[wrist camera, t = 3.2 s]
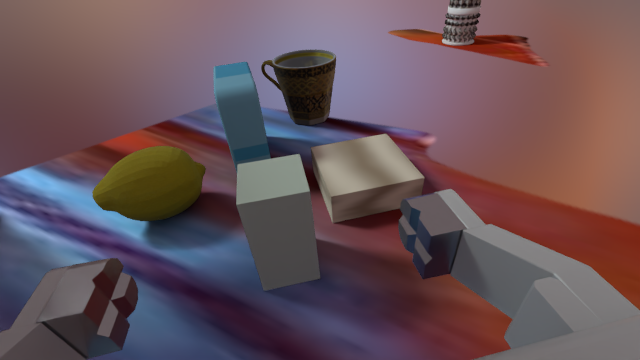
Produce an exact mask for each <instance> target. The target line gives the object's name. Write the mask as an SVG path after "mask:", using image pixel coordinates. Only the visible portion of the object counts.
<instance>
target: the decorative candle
mask: <svg viewBox="0 0 640 360" xmlns="http://www.w3.org/2000/svg"><path fill="white" fill-rule="evenodd" d="M480 4H481V0H450V5H449V7H448V13H447V14H446V18H448V19H447V20H446V21H445V24H446V26H445V27H444V29H443V30H444V33H443V35H442V36H443V38H444V39H442V43H444V44H448V45H469V44H472V43H474V39H473V38H474V37H475V36H476V34H475V31H477V27H476V26H475V25H476V24H477V23H478V22H479V21H478V20H477V18H478V17H479V16H480V14H479V11H480V7H481V6H480Z"/></svg>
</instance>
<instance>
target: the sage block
mask: <svg viewBox="0 0 640 360" xmlns="http://www.w3.org/2000/svg"><path fill="white" fill-rule="evenodd" d="M236 206H237V209H238V212H239V215H240V218H241V221H242V224H243V227H244V230H245V234H246V237H247V240H248V243H249V246H250V249H251V252H252V255H253V258H254V261H255V265H256V268H257V271H258V274H259V277H260V280H261V283H262V286H263V289H264V291H266V290H271V289H275V288H280V287H285V286H289V285H294V284H298V283H303V282H307V281H312V280H316V279H320V270H319V262H318V254H317V246H316V237H315V229H314V221H313V213H312V204H311V196H310V190H309V186H308V183H307V179H306V176H305V172H304V168H303V165H302V161H301V158H300V154H296V155H290V156H284V157H278V158H272V159H266V160H260V161H254V162H248V163H243V164H238V166H237V196H236Z"/></svg>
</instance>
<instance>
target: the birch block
mask: <svg viewBox="0 0 640 360" xmlns="http://www.w3.org/2000/svg"><path fill="white" fill-rule="evenodd" d="M311 154H312V163H313V172H314V174H315V177H316V180H317V182H318V185H319V188H320V190H321V193H322V196H323V198H324V201H325V204H326V206H327V209H328V212H329V214H330V217H331V220H332V222H333V223H335V222H340V221H344V220H349V219H354V218H358V217H363V216H367V215H372V214H376V213H381V212H386V211H390V210H395V209H399V208H400V205H401V201H402V200H403V199H406V198H411V197H416V196H420V195H422V190H423V184H424V178H425V177H424V176H423V175H422V174H421V173H420V172H419V171H418V169H417V168H416V167H415V166H414V165H413V164H412V163H411V161H410V160H409V159H408V158H407V157H406V156H405V155H404V153H403V152H402V151H401V150H400V149H399V148H398V147H397V145H396V144H395V143H394V142H393V141H392V140H391V139H390V137H389V136H388V135H387V134H382V135H376V136H371V137H365V138H360V139H354V140H348V141H343V142H337V143H332V144H326V145H321V146H315V147H311Z"/></svg>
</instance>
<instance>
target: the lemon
mask: <svg viewBox="0 0 640 360" xmlns="http://www.w3.org/2000/svg"><path fill="white" fill-rule="evenodd" d="M205 170H206V168H205V167H204V166H203V165H202V164H200V163H197V162H194V161H193V160H192V158H191V157H190V156H189V155H188V154H187V153H186V152H184V151H183V150H181V149H178V148H175V147H169V146H156V147H150V148H146V149H142V150H139V151H136V152H134V153H132V154H130V155H128V156H126V157H125V158H123V159H121V160H120V161H119V162H118V163H116V164H115V165H114V166H113V167H112V168H111V169H110V171H109V172H108V173H107V175H106V176H105V177H104V178H103V179H102V180H101V181H100V182H99V184H98V185H97V186H96V187H95V188H94V190H93V199H94V200H95V202H96V203H97V204H98V205H99V206H100V207H101V208H102V209H103V210H107V211H115V212H118V213H120V214H121V215H123V216H125V217H127V218H130V219H133V220H139V221H155V220H161V219H166V218H169V217H172V216H175V215H177V214H179V213H181V212H183V211H184V210H186V209H187V208H188V207H190V206H191V205H192V204H193V203H194V202H195V201H196V200H197V198H198V197H199V195H200V193H201V188H202V179H203V176H204V174H205Z"/></svg>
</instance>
